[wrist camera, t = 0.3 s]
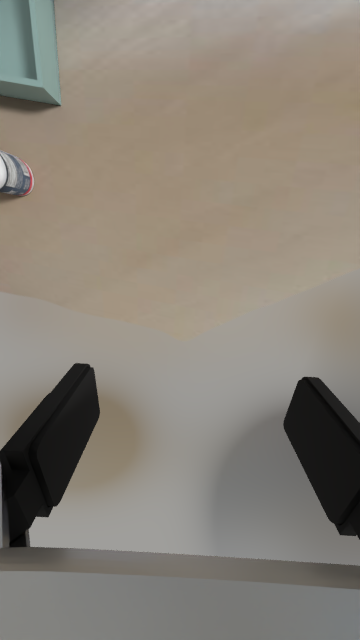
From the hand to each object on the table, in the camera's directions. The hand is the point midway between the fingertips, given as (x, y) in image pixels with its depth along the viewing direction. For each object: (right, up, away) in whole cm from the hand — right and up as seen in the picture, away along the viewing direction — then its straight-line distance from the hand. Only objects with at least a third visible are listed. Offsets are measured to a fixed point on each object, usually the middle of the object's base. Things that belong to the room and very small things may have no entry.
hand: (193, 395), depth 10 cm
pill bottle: (-26, +26, +23) cm, 43 cm away
